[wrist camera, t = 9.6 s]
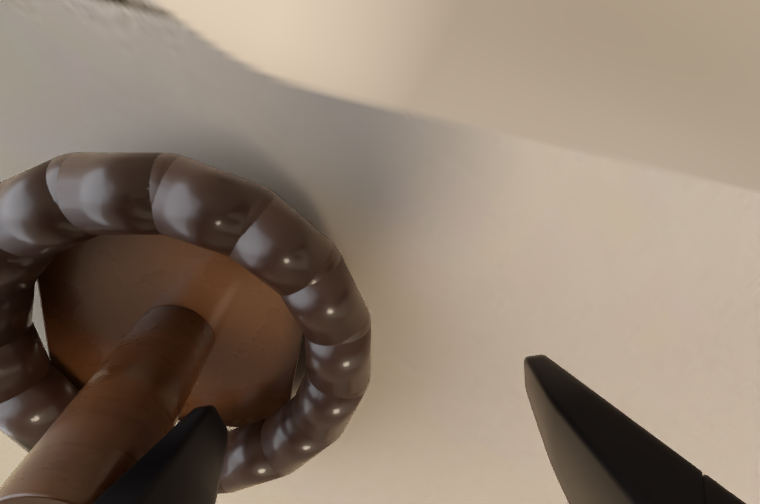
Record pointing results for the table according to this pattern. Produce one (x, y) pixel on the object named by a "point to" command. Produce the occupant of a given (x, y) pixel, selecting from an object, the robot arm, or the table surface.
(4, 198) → the ring
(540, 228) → the table surface
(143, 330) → the peg stand
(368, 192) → the table surface
